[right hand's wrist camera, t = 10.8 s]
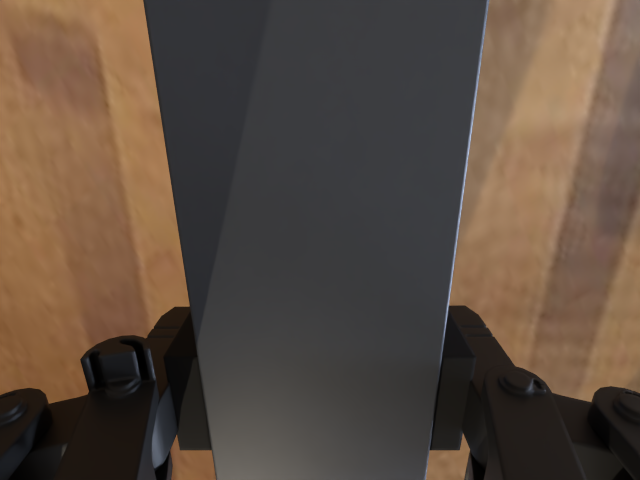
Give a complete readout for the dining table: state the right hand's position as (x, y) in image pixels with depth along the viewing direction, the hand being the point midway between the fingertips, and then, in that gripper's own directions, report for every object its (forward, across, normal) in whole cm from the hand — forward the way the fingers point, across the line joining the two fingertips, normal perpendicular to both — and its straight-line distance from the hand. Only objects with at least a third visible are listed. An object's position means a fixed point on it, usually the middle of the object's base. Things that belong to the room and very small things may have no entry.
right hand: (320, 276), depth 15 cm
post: (+1, 0, -26) cm, 26 cm away
